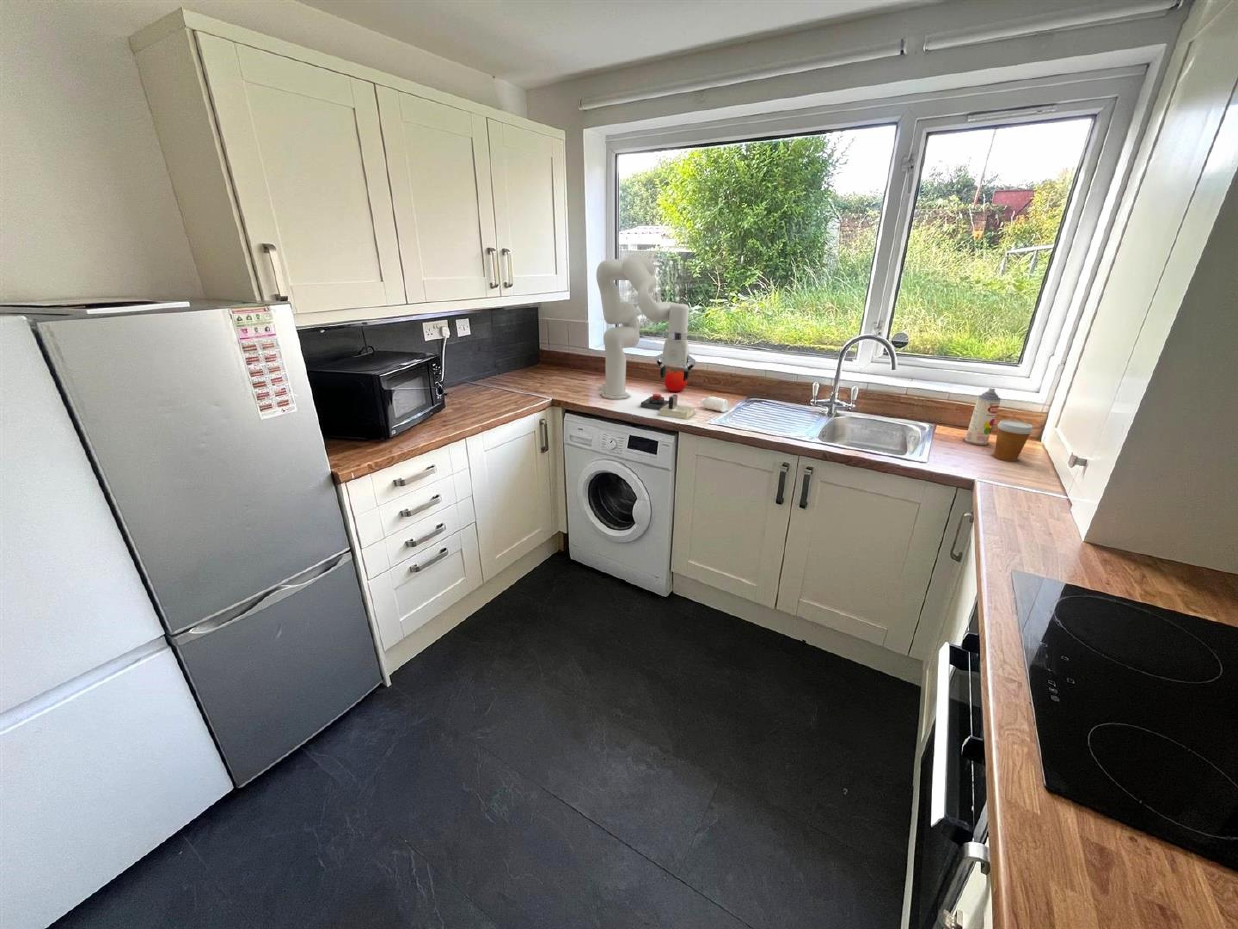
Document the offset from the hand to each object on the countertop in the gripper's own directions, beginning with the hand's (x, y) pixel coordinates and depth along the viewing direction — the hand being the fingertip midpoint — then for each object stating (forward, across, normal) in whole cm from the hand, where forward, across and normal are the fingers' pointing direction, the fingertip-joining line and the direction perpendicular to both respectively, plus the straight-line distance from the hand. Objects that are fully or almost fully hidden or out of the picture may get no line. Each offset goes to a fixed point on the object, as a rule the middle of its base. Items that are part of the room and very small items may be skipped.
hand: (674, 378), depth 205 cm
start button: (+11, -10, +7) cm, 16 cm away
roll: (+15, +14, +15) cm, 25 cm away
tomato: (+15, -12, +40) cm, 44 cm away
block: (+15, -10, +7) cm, 19 cm away
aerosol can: (+13, +112, +19) cm, 114 cm away
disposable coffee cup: (+13, +118, +4) cm, 118 cm away
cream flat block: (+15, +2, 0) cm, 15 cm away
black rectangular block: (+12, 0, 0) cm, 12 cm away
